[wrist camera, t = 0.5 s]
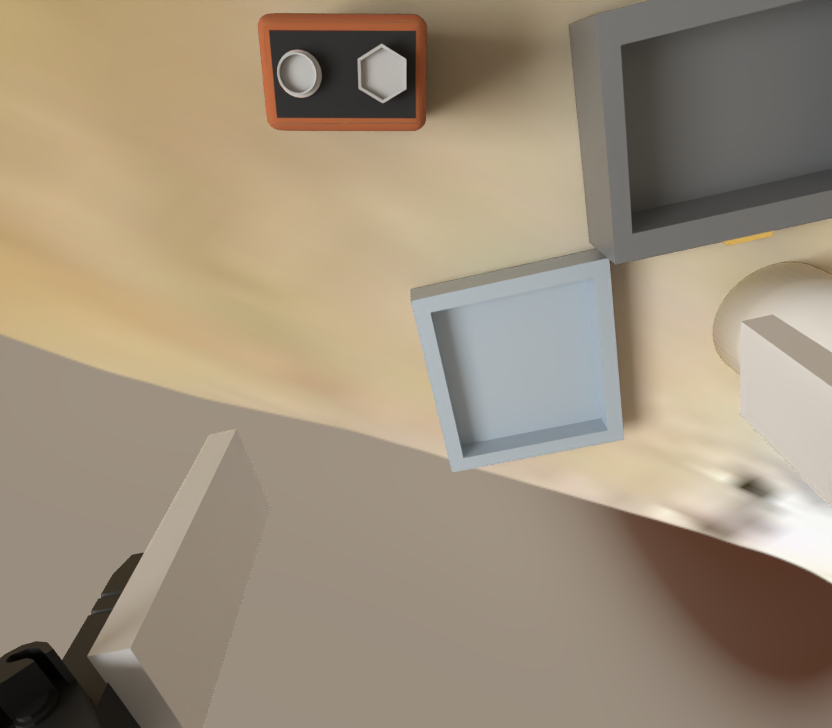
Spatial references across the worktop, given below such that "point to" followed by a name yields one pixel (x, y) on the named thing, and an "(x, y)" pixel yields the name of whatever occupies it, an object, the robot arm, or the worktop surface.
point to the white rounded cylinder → (776, 306)
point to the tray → (523, 359)
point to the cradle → (703, 122)
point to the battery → (344, 71)
